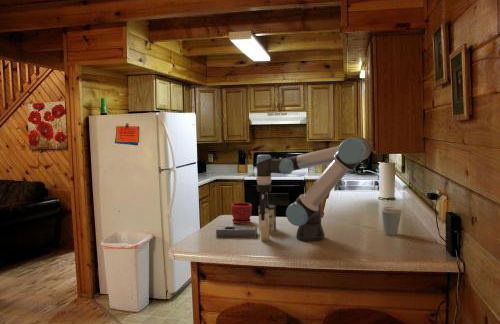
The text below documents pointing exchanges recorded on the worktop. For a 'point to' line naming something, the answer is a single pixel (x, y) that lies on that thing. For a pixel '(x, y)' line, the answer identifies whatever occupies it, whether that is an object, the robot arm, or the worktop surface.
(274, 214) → the coffee can
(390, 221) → the disposable coffee cup
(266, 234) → the brass peg
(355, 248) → the worktop surface
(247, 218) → the plant pot
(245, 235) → the grey flat block
